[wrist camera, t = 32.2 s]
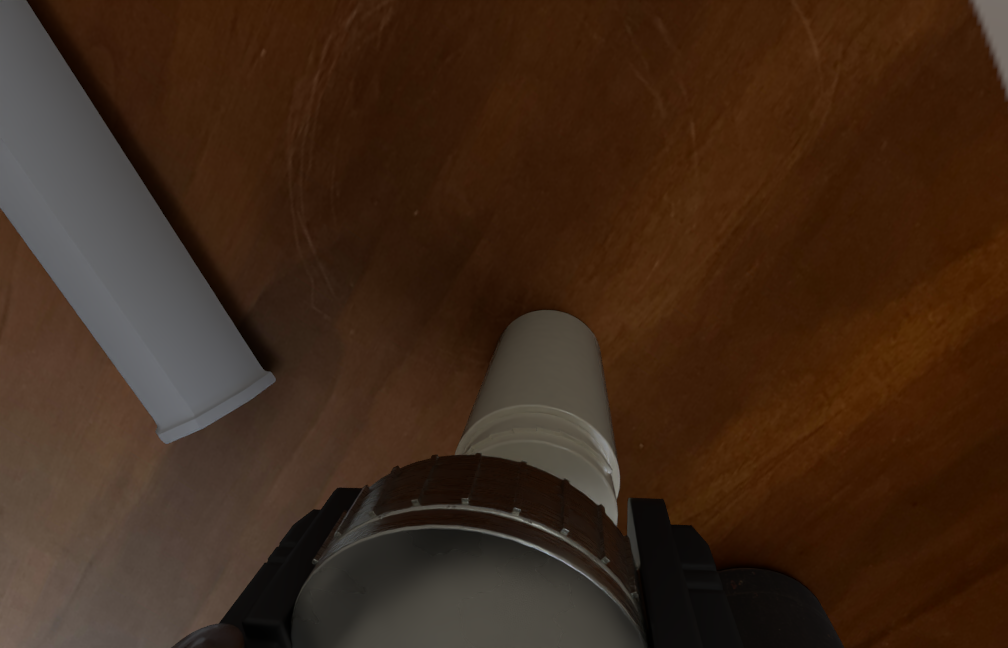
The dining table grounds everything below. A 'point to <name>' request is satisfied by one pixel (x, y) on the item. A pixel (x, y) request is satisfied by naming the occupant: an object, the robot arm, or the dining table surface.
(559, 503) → the lid
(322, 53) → the dining table surface
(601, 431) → the jar
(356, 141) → the dining table surface
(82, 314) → the tube
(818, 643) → the container
